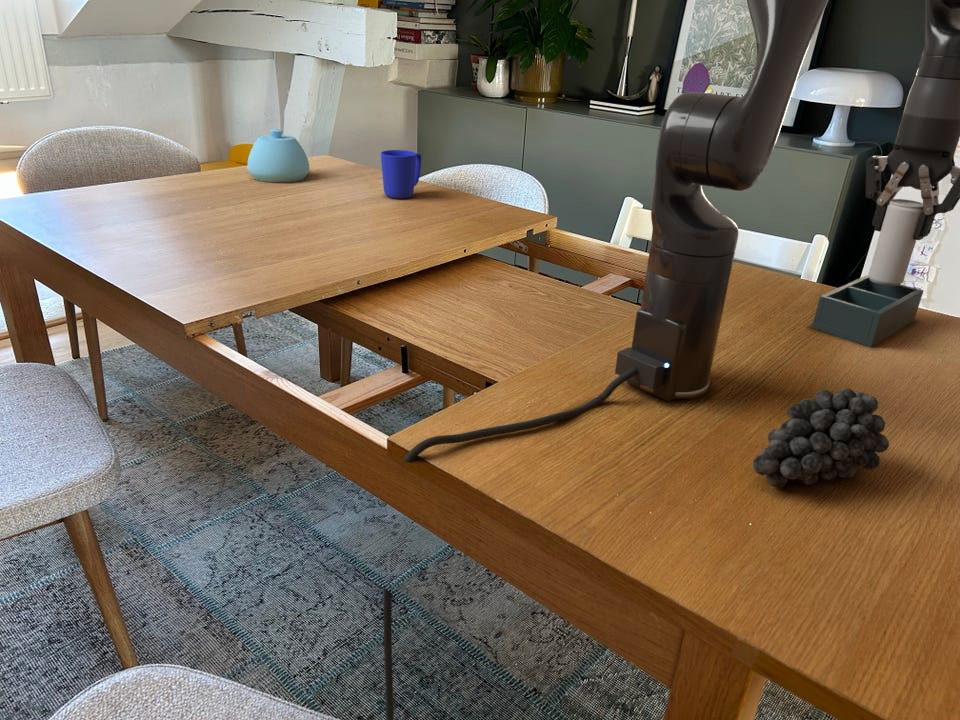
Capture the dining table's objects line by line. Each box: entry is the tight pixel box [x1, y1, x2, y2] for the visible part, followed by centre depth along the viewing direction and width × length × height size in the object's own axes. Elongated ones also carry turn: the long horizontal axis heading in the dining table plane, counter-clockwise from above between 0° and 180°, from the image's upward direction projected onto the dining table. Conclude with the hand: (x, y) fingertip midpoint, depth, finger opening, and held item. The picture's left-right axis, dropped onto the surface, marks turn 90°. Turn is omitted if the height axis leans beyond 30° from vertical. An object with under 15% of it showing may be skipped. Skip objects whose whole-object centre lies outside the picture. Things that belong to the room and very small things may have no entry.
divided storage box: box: [811, 274, 924, 348], centre depth 110 cm, size 9×16×5 cm, turn 132°
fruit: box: [752, 387, 890, 488], centre depth 71 cm, size 9×8×15 cm
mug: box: [380, 149, 422, 200], centre depth 172 cm, size 8×12×10 cm
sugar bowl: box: [246, 128, 311, 183], centre depth 183 cm, size 15×15×12 cm
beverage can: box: [867, 198, 924, 286], centre depth 108 cm, size 5×5×12 cm
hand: (898, 234), depth 107 cm, fingers closed on beverage can, 5 cm apart
